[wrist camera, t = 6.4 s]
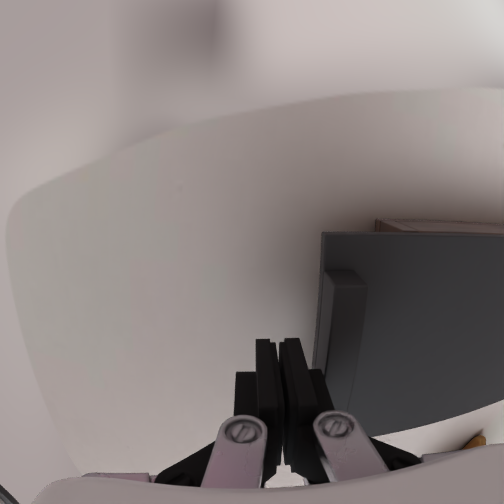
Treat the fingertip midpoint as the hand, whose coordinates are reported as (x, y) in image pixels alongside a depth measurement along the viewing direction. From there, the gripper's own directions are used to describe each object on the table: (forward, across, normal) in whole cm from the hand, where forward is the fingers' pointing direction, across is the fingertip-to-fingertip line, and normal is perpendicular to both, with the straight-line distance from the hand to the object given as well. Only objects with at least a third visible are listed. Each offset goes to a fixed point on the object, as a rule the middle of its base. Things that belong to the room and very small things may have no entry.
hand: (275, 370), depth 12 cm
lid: (+1, -11, 0) cm, 11 cm away
